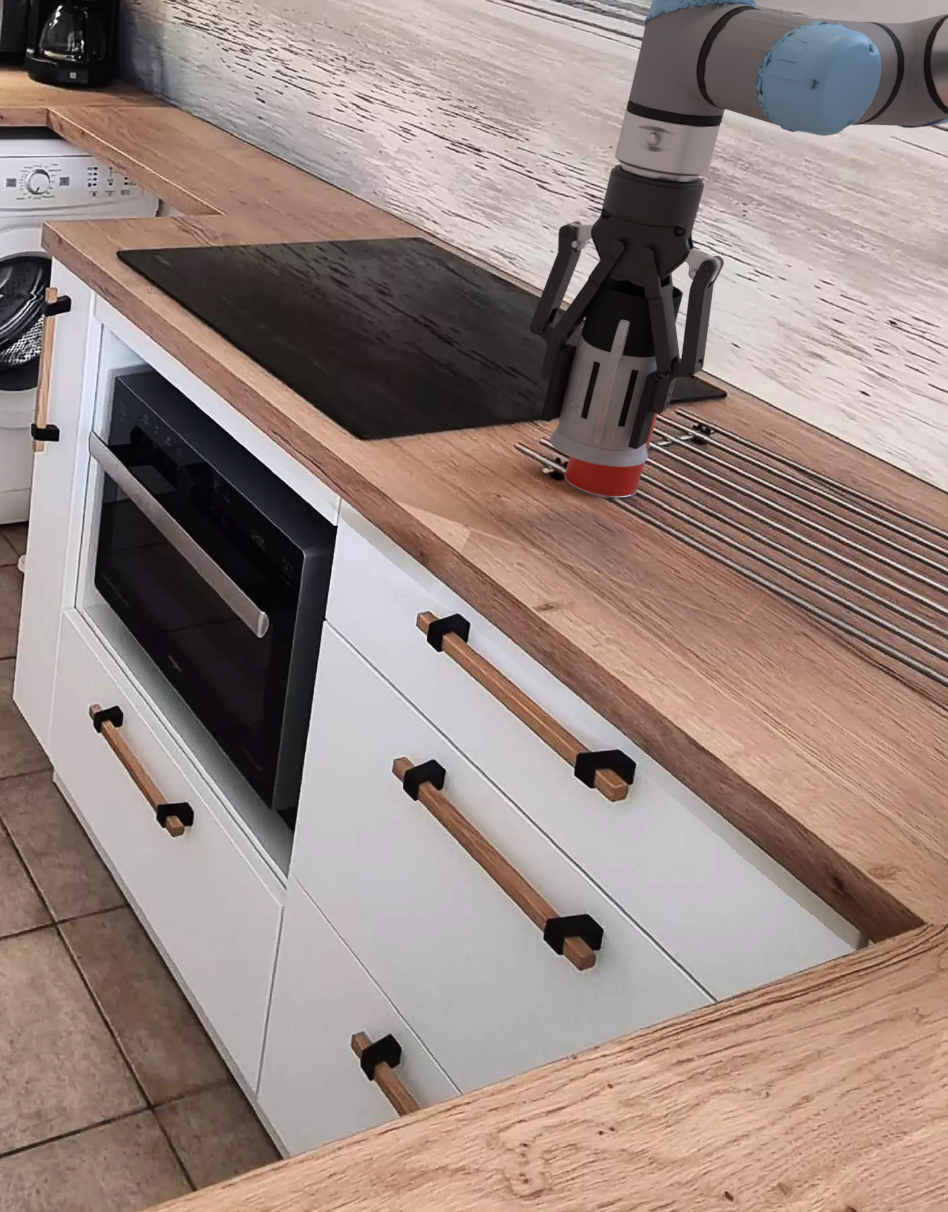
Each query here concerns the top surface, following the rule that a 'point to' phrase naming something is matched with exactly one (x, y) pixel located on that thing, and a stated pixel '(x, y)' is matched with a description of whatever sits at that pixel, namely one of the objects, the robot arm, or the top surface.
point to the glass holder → (609, 377)
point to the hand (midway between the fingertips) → (593, 430)
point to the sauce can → (605, 477)
